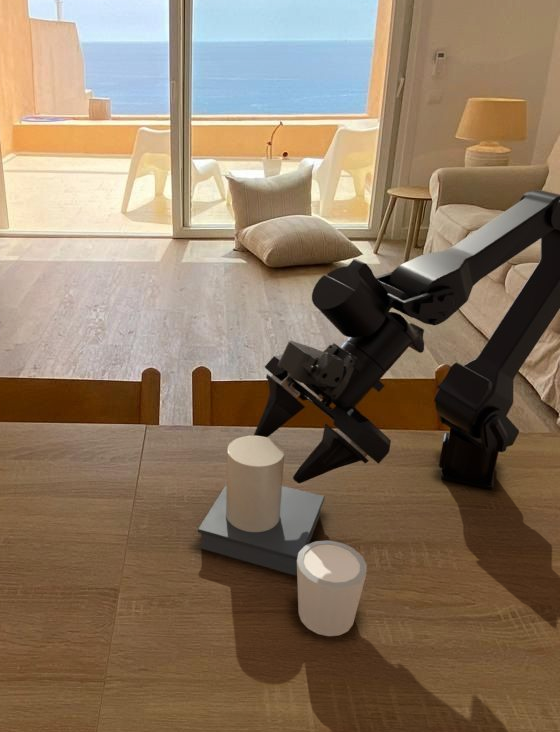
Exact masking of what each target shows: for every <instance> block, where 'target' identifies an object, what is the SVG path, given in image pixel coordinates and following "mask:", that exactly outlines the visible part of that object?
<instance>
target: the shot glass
mask: <svg viewBox="0 0 560 732" xmlns="http://www.w3.org/2000/svg"><path fill="white" fill-rule="evenodd" d="M367 566H368V565H367V563H366V560H365V559H364V557H363V556H362V554H360V553H359V551H357V550H356V549H355V548H354V547H351V546H349V545H347V544H345V543H342V542H340V541H339V542H338V541H334V540H316V541H313V542H311V543H310V542H309V544H308V545H305V546H304V547H303V548H302V549H301V550H300V551H299V553H298V558H297V575H296V577H297V578H296V579H297V581H296V582H297V603H298V604H297V607H298V616H299V620H300V622H301V623H302V624H303V625H304V626H305V628H307V629H308V630H310V631H312V632H313V633H315V634H317V635H320V636H325V637H337V636H341V635H343V634H345V633H348V632H349V631H350V629H351V628H352V627H353V626H354V622H355V619H356V614H357V611H358V607H359V605H360V604H359V603H360V600H361V595H362V592H363V588H364V585H365V581H366V577H367V569H368V567H367Z"/></svg>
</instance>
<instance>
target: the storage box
mask: <svg viewBox="0 0 560 732" xmlns="http://www.w3.org/2000/svg"><path fill="white" fill-rule="evenodd" d="M226 486H227V483H225V485H224V487H223V489H222V490H221V492H220V494H219V495H218V497H217V498H216V500H215V501H214V503H213V505H212V506H211V508H210V509H209V510H208V512H207V514H206V516H205V517H204V519H203V520H202V522H201V523H200V525H199V527H198V528H197V533H198V534H201V535H200V549H201V550H204V551H208V552H212V553H216V554H219V555H223V556H226V557H229V558H232V559H236V560H239V561H244V562H247V563H250V564H253V565H257V566H260V567H264V568H267V569H271V570H275V571H277V572H281V573H284V574H288V575H292V576H295V577H297V558H298V553H299V551H300V550H301V549H302V548H303V547H304V546H305V545H308V544H310V542H311V539H312V537H313V535H314V532H315V530H316V528H317V525H318V522H319V519H320V517H321V510H322V509H321V508H322V506H323V503H324V501H325V498H326V497H325V495H322V494H317V493H314V492H309V491H305V490H301V489H296V488H292V487H289V486H284V485H282V495H281V510H280V520H279V522H278V524H277V525H276V526H275V527H273V528H272V529H269V530H267V531H263V532H247V531H243V530H240V529H238V528H236V527H234V526H233V525H232V524H231V523H230V522H229V521H228V520H227V517H226Z"/></svg>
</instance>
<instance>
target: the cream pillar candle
mask: <svg viewBox="0 0 560 732" xmlns="http://www.w3.org/2000/svg"><path fill="white" fill-rule="evenodd" d="M226 454H227V455H226V484H227V486H226V485H225V486H226V517H227V520H228V521H229V522H230V523H231V524H232V525H233V526H234V527H236V528H238V529H240V530H243V531H247V532H263V531H267V530H269V529H272V528H273V527H275V526H276V525H277V524H278V522H279V520H280V510H281V495H282V486H283V479H284V464H285V463H284V462H285V449H284V447H283V446H282V444H280V443H279V442H278V441H277V440H276V439H275V440H274V439H273V438H271V437H263V436H254V435H245V436H241V437H238V438H235V439H233V440H232V441H230V443H229V444H228V445H227V453H226Z"/></svg>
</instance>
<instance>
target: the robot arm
mask: <svg viewBox="0 0 560 732" xmlns="http://www.w3.org/2000/svg"><path fill="white" fill-rule="evenodd" d="M539 240H540V259H539V262H538V264H537V265H536V267H535V268H534V270H533V271H532V273H531V274H530V276H529V278H528V279H527V281H526V282H525V283H524V285H523V287H522V288H521V290H520V291H519V293H518V295H517V296H516V297H515V299H514V301H513V302H512V303H511V305H510V307H509V308H508V310H507V311H506V313H505V314H504V316H503V317H502V319H501V320H500V321H499V323H498V325H497V327H496V328H495V330H494V331H493V333H492V334H491V336H490V338H488V340H487V342H486V344H485V345H484V347H483V348H482V350H481V351H480V353H479V354H478V356H477V357H476V358H474V359H472V360H471V361H469V362H467V363H465V364H461V363H460V362H458V361H457V362H454V363H453V364H452V365H451V366H450V367H449V369H448V371H447V374H446V376H445V377H444V378H443V380H442V381H440V383H439V384H438V385H437V386H436V388H437V389H438V390H437V392H436V393H435V395H434V400H433V402H434V403H435V410H436V413H437V415H438V419H439V420H438V421H439V423H441V424H442V425H445V426H447V428H449V432H445V433H443V434H444V435H443V439H442V445H441V450H440V456H439V463H438V467H439V468H440V469H441V472H440V478H441V479H442V480H444V481H445V480H446V481H448V482H449V481H450V482H454V483H458V484H463V485H466V486H467V485H468V486H473V487H477V488H482V489H487V490H493V488H494V483H495V481H494V480H495V471H496V466H497V463H498V462H497V461H498V456H499V453H504V452H506V451H507V448H508V447H512V446H513V445H514V444H515V441H516V439H517V438H518V436H519V434H520V430H519V428H518V427H516V425H515V424H514V423H513V421H512V420H510V418H509V417H508V414H509V412H510V410H511V408H512V407H513V405H514V389H515V388H514V386H515V385H514V380H515V377H516V376H517V374H518V373H519V372H520V370H521V368H522V367H523V365H524V364H525V362H526V361H527V359H528V357H529V356H530V355H531V353H532V351H533V350H534V348H535V347H536V346H537V344H538V343H539V341H540V340H541V338H542V337H543V336H544V333H545V332H546V331H547V329H548V328H549V326H550V324H551V323H552V322H553V320H554V319H555V317H556V315H557V314H558V312H559V311H560V194H559V193H555V192H551V191H547V190H542V189H535V190H529V191H527V192H525V193H524V194H523V195H522V196H521V198H520V200H519V201H518V202H517V203H515V204H514V205H512V206H510V207H509V208H507V209H506V210H505V211H504V212H502V213H500V214H499V215H497V216H496V217H494V218H493V219H491V220H490V221H488V222H487V223H486V224H484V225H483V226H481V227H479V228H478V229H476V230H475V231H474V232H472V233H470V234H469V235H468V236H466V237H464V238H463V239H462V240H460V241H459V242H457V243H455V244H454V245H453V246H450V247H449V248H446V249H444V250H441V251H433V252H430V253H424V254H421V255H418V256H417V257H415V258H412V259H410V260H407V261H405V262H403V263H401V264H400V265H398V266H397V267H396V268H394V270H392V271H391V272H387V273H384V274H382V275H377V276H375V274H374V272H373V270H372V268H370V266H369V265H368V263H365V262H364V261H361V260H360V259H357V258H354V259H352V260H351V261H350V263H349V264H348V265H345V266H340V267H338V268H335V269H332V270H331V271H329V272H327V274H323V275H322V276H321V277H320V278H319V279H318V280H317V282H316V283H315V285H314V287H313V289H312V294H311V301H312V304H313V305H314V306H315V307H316V309H317V310H319V311H320V313H321V314H322V315H323V316H324V317H325V318H326V319H327V320H328V321H329V322H330V323H331V324H332V325H333V326H334V328H335V329H336V330H338V331H339V332H340V333H341V334H342V335H343V336H344V337H347V339H346V340H345V341H344V343H342V345H341V346H339V345H338V344H336V343H335V342H333V343H332V344H329V345H328V346H327V347H326V348H325V350H320V349H317V348H315V347H313V346H309V345H306V344H303V343H300V342H297V341H294V340H288V342H287V345H286V346H285V349H284V351H283V353H282V354H277V355H273V356H272V358H270V359H269V361H268V362H267V363H266V364H265V365H264V369H266V370H267V371H268V372H269V373H270V374H272V375H270V374H268V373H267V374H266V375H265V378H266V380H267V382H268V389H269V394H268V395H269V396H268V397H267V401H266V404H265V407H264V410H263V412H262V414H261V417H260V419H259V422H258V424H257V426H256V429H255V431H254V433H253V436H263V437H267V438H269V437H270V436H271V435H272V434H274V433H275V432H276V431H277V430H279V429H280V428H281V427H282V426H284V425H285V424H286V423H287V422H288V421H290V420H291V419H292V418H293V417H295V416H297V414H299V413H300V412H301V411H302V410H303V409H305V407H306V406H305V405H304V404H303V403H302V402H301V401H303V402H304V401H309V402H311V403H312V404H313V405H314V406H315V407H317V409H319V410H320V411H321V412H323V414H325V415H326V416H327V417H328V418H330V419H331V420H332V421H333V426H334V427H336V429H337V430H336V431H335V429H334V428H332V427H331V426H330V425H328V423H324V428H323V433H322V439H321V441H320V442H319V443H318V445H317V446H316V447H315V448H314V449H313V450H312V452H311V453H310V454H309V455H308V457H306V459H305V460H304V461H303V462H302V464H301V465H300V466H299V467H298V469H297V471H296V472H295V473H294V475H292V480H294V482H295V483H297V484H302V483H305V482H307V481H309V480H313V479H314V478H316V477H319V476H321V475H324V474H326V473H328V472H331V471H333V470H336V469H340V468H342V467H346V466H348V465H349V466H350V465H351V464H354V463H355V464H356V463H358V462H363V463H364V464H367V463H368V462H369V459H368V458H367V456H369V457H370V458H371V459H372V460H373V461H374V462H375V463H376V464H378V465H379V464H380V463H381V462H382V461H383V460H384V459H385V458H386V456H387V455H389V453H390V449H391V443H392V440H391V439H390V438H389V437H388V436H387V435H386V434H385V433H384V432H383V431H382V430H380V428H379V427H378V426H376V425H375V423H373V422H372V421H371V420H370V419H369V418H367V417H366V416H365V415H363V414H362V413H361V412H360V411H359V409H357V408H356V407H357V406H358V405H359V404H360V403H361V401H363V399H364V398H366V396H367V395H368V394H369V393H370V391H372V389H373V390H374V391H376V392H377V393H380V392H381V391H382V390H383V389H384V387H385V384H384V383H382V381H381V379H382V378H383V377H384V376H385V374H387V372H388V371H389V370H390V369H391V368H392V366H394V364H395V363H396V362H398V361H399V359H400V358H401V357H402V355H403V354H404V353H405V352H406V351H407V350H408V349H409V348H410V349H412V350H413V351H415V352H417V353H420V354H422V353H423V352H425V341H424V333H425V329H424V328H423V327H421V326H419V325H417V324H415V323H413V322H410V323H409V322H408V321H407V320H406V319H405V317H404V316H403V315H402V314H404V315H406V316H408V317H409V318H411V319H415V320H417V321H419V322H420V323H423V324H425V325H430V326H431V325H432V326H438V325H440V324H442V323H445V321H447V320H448V319H449V318H450V317H452V316H453V315H454V314H455V313H456V312H457V311H458V310H460V309H461V307H463V306H464V305H465V304H466V303H467V302H468V301H469V298H470V297H471V293H472V290H473V287H474V286H475V285H476V284H477V283H478V282H480V281H481V280H482V279H483V278H485V277H487V276H488V275H489V274H491V273H492V272H494V271H496V270H497V269H498V268H500V267H501V266H503V265H504V264H506V263H507V262H508V261H510V260H511V259H513V258H514V257H515V256H517V255H519V254H521V253H522V252H524V250H526V249H528V248H529V247H531V246H532V245H533V244H535V243H536V242H538V241H539ZM391 309H394V310H395V311H398V312H400V313H401V314H400V313H398V312H394V311H391ZM298 398H299V399H300V400H301V401H300V400H298ZM332 404H333V405H334V407H332V406H331V405H332Z"/></svg>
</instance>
